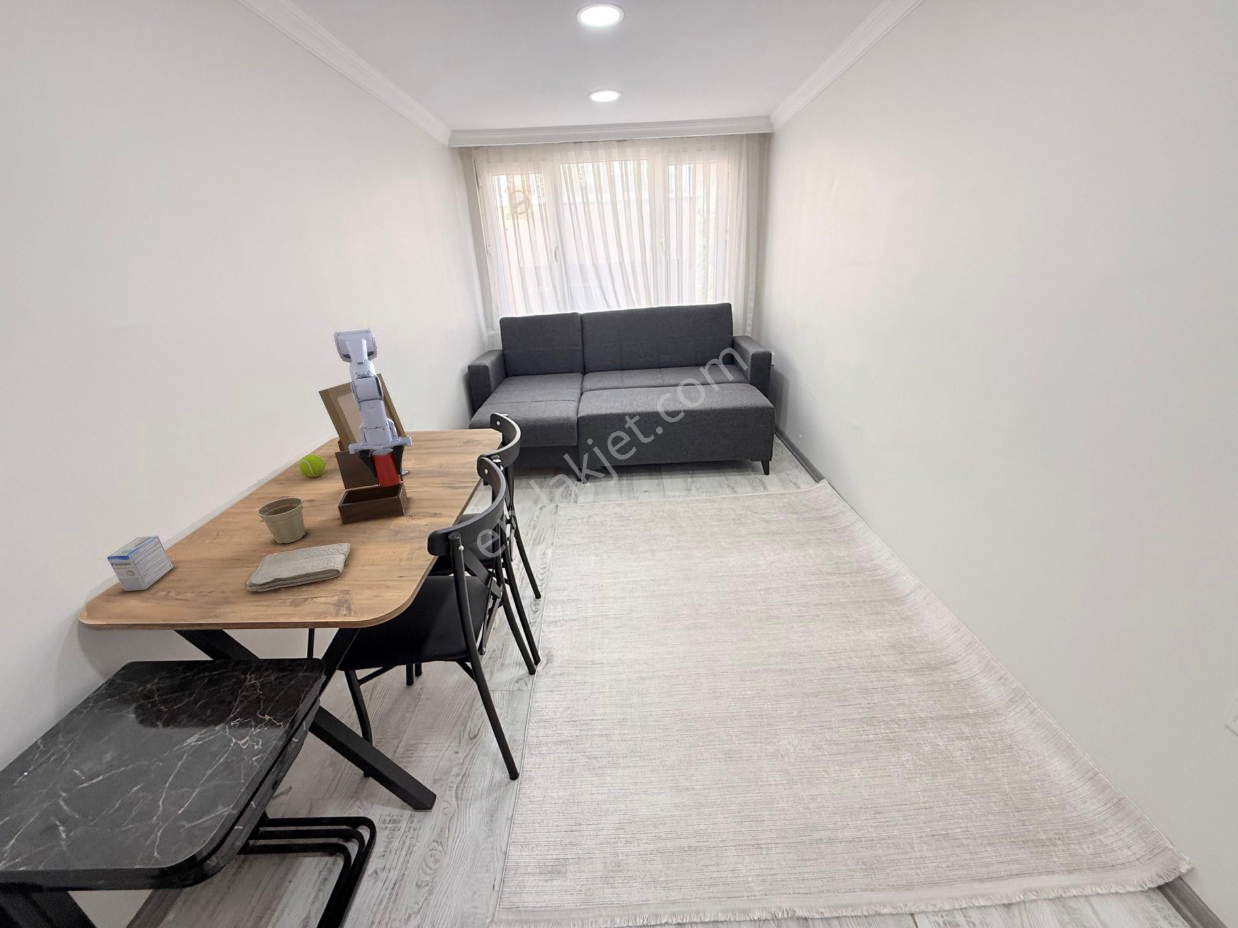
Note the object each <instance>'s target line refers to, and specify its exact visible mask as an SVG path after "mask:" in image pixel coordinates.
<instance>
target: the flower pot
mask: <svg viewBox="0 0 1238 928" xmlns="http://www.w3.org/2000/svg"><path fill="white" fill-rule="evenodd" d="M303 507H304V499H302V498H301V497H295V496H292V497H283V498H279V499H276V500H273V501H272V500H271V501H270V502H267V503H265V504H263V505H262V506H260V507H259V508H258V509H257V510H256V515H257V516H258V517H260V518H261V520H262V521H263V522H264V523H265V524H266V527H267V528H268V529H269V532H270V534H271V535H272V536H273V538H274V540H275V542H276V543H277V544H284V543H285V544H290V543H293V542H296V541H299V540H300V539H302V538H303V536H305V535H306V528H305V522H304V514H303Z"/></svg>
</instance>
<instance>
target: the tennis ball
mask: <svg viewBox="0 0 1238 928" xmlns="http://www.w3.org/2000/svg"><path fill="white" fill-rule="evenodd" d="M326 465H327V464H326V462H325V460H324V459H323V458H322V457H321V456H319V455H318V454H308V455H305V456H304V457H302V458H301V459H300V461H299V463H298V470H299V471H300V473H301V474H302V475H304V476H305V477H308V478H317V477H319V476H321V475H322V474H323V473H325V471H326Z"/></svg>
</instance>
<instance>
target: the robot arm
mask: <svg viewBox="0 0 1238 928" xmlns="http://www.w3.org/2000/svg"><path fill="white" fill-rule="evenodd" d="M333 340H334V343H335V344H334V345H335V347H336V351H337V353H338V356H339V358H340V359H341V361H342V362H346V363H348V364H349V366H348V370H349V374H350V379H351V381H349V382H350V385H351V390H352V394H353V397H354V400H355V402H356V404H357V407H358V411H360V416H361V420H362V423H361V424H360V427H359V431H360V437H361V441H362V442H360V443H356V444H350V445H349V447H348V448H349V451H350V454H354V453H355V452H359V454H360V455H359V457H360V459H361V460H362V461H363V462H364V463H365V464H366V465H367V466H368V467H369V469H370V470H371V472H372V474H373V475H374V478H377V477H378V476H377V473H376V469H375V465H374V461H373V457H372V453H373V450H379V449H386V448H394V449H393V451H392V453H393V456H394V459H395V462H396V466H397V472H398V475H399V474H401V473H402V476H404V475H406V474H408V470H404V469H403V465H402V464H403V455H404V451H405V447H407V448H408V447H412V446H413V440H412V437H411V436H407V437H398V436H397V432H396V428H395V426H394V422H393V421H392V420H391V419H389V418H387V416H386V412H385V408H384V403H383V400H382V399H381V398H380V396H382V398H383V391H382V387H381V383H380V380H379V378H378V376H377V374H378V373H377V372H376V369H375V365H374V364H373V362H372V360H374V359H376V358H377V357H378V347H377V341H376V337H375V334H374V330H373V329H371V328H368V329H357V330H356V329H355V330H346V331H334V333H333ZM351 382H352V383H351Z"/></svg>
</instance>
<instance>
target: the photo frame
mask: <svg viewBox="0 0 1238 928" xmlns="http://www.w3.org/2000/svg"><path fill="white" fill-rule="evenodd" d="M376 374H377V376H378V378H379V380H380V383H381V387H382V391H383V398H382V396H380V398H381V399H382V400H383V403H384V408H385V412H386V416H387V418H389V419H391V420H392V421H393V422H394V426H395V428H396V432H397V436H398V437H408V436H407V434H406V432H405V429H404V427H403V424H402V422H401V420H400V417H399V414H398V412H397V410H396V408H395V405H394V403H393V400H392V398H391V395H390V393H389V390H388V388H387V385H386V383H385V380H384V379H383V376H382V373H376ZM350 382H351V383H352V381H348V382H345V383H341V384H338V385H336V386H332V387H331V386H330V387H327V388H324V389H322V390H319V391H318V394H319V396H320V398H321V401H322V403H323V405H324V407H325V410H326V412H327V414H328V417H329V419H330V420H331V423H332V425H333V427H334V429H335V431H336V434H337V436H338V438H339V439H338V441H337V446H338V450H339V452H340V451H348V450H349V448H348V447H349V445H350V444H356V443H360V442H362V441H361V437H360V431H359V427H360V424H361V423H362V420H361V416H360V411H358V407H357V404H356V402H355V400H354V397H353V394H352V390H351V385H350Z"/></svg>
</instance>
